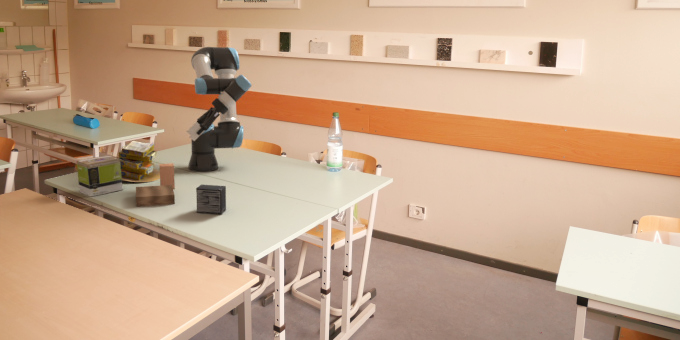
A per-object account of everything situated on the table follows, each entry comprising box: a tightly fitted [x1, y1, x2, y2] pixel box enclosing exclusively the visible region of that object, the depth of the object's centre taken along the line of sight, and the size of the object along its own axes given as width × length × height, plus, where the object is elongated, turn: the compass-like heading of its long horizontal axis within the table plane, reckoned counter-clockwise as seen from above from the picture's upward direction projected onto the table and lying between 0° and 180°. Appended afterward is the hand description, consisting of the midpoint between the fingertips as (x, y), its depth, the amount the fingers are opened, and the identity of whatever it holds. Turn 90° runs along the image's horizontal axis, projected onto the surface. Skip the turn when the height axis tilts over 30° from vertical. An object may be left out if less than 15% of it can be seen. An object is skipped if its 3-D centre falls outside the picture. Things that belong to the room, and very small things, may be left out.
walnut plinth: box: [135, 185, 176, 207], centre depth 230 cm, size 15×15×4 cm
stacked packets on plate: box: [118, 140, 160, 183], centre depth 261 cm, size 25×25×17 cm
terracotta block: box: [159, 162, 176, 190], centre depth 246 cm, size 6×5×11 cm
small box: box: [195, 184, 227, 215], centre depth 218 cm, size 11×6×10 cm, turn 84°
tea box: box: [76, 154, 123, 197], centre depth 236 cm, size 15×10×15 cm, turn 141°
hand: (190, 136), depth 245 cm, fingers open, 13 cm apart
